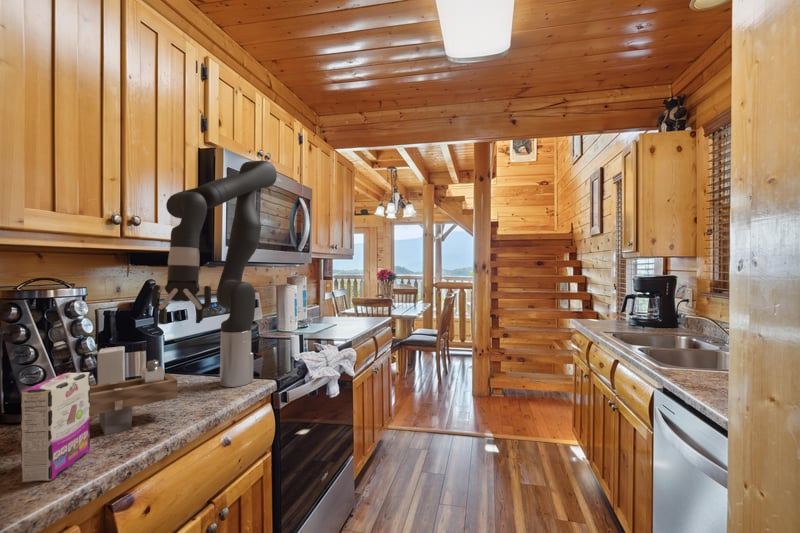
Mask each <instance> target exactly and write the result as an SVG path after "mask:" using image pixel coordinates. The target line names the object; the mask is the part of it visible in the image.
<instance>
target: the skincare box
mask: <svg viewBox="0 0 800 533" xmlns="http://www.w3.org/2000/svg"><path fill="white" fill-rule="evenodd" d="M125 349H126V348H125V346H114V347H104V348H100V349H98V352H97V361H96V363H97V385H101V384H107V383H111V382H120V381H126V360H125V358H126V352H125Z"/></svg>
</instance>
